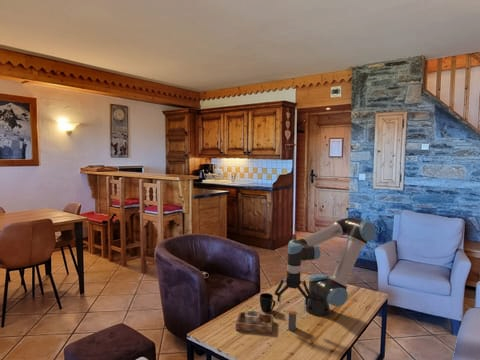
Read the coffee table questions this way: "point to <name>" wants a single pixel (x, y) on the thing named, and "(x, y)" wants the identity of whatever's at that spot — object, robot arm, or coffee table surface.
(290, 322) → the connector
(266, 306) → the mug
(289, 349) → the coffee table surface
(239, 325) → the box
